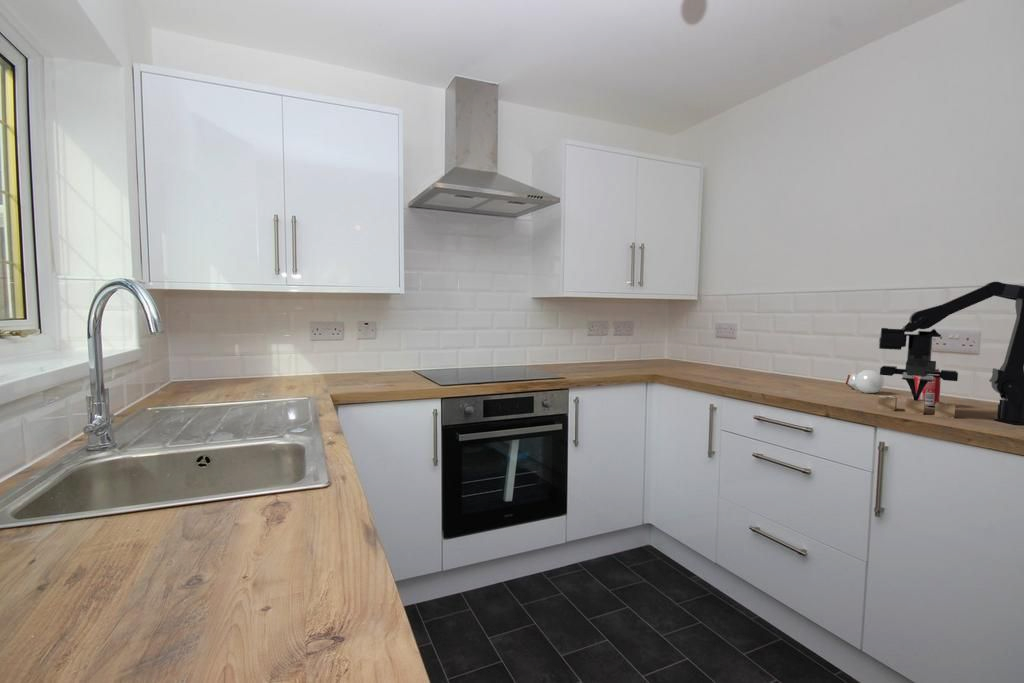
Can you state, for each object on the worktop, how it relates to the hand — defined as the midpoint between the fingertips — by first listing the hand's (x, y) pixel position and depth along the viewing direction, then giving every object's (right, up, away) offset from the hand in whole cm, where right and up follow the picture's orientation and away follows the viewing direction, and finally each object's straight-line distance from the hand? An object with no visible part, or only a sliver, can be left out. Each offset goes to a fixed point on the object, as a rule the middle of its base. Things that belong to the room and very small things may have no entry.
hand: (915, 400), depth 156 cm
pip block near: (+5, -4, -4) cm, 8 cm away
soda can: (+14, -4, +14) cm, 20 cm away
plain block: (0, -4, 0) cm, 4 cm away
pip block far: (-5, -4, +5) cm, 8 cm away
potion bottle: (+14, -2, +43) cm, 45 cm away
